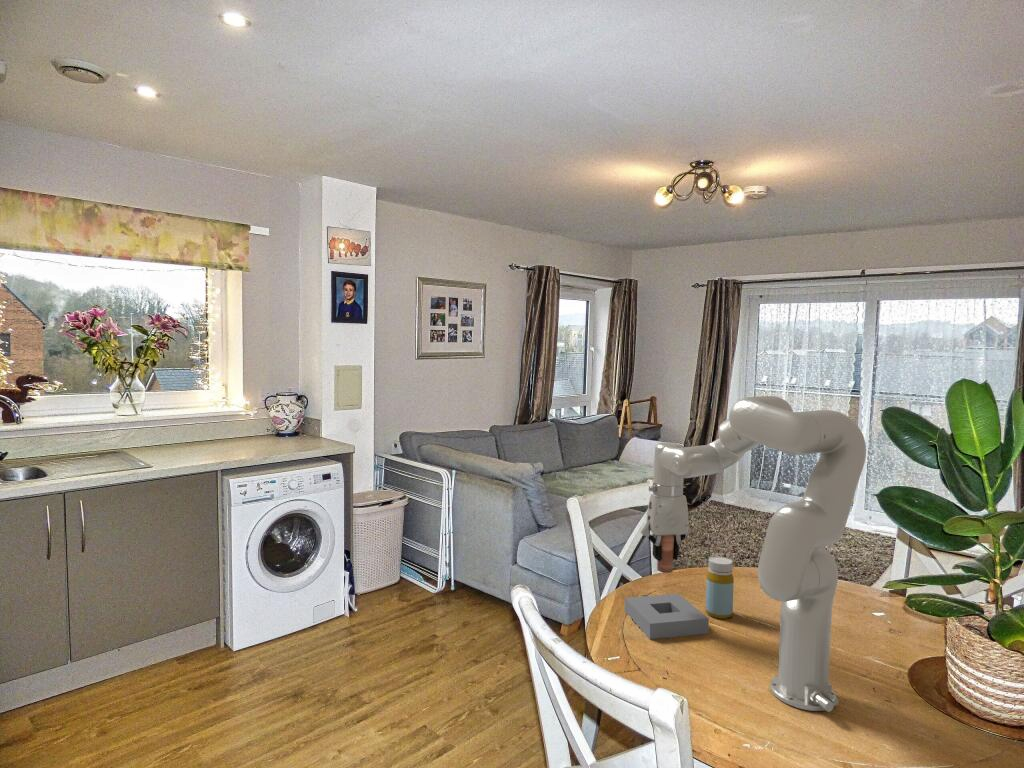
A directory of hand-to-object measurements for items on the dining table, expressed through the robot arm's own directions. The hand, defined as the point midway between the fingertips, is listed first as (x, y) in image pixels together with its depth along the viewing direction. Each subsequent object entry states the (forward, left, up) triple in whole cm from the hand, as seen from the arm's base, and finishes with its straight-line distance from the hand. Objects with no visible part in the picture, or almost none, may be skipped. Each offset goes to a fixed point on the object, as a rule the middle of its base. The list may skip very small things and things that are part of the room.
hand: (665, 557), depth 162 cm
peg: (0, 0, -3) cm, 3 cm away
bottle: (+2, -17, -17) cm, 25 cm away
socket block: (0, 0, -17) cm, 17 cm away
